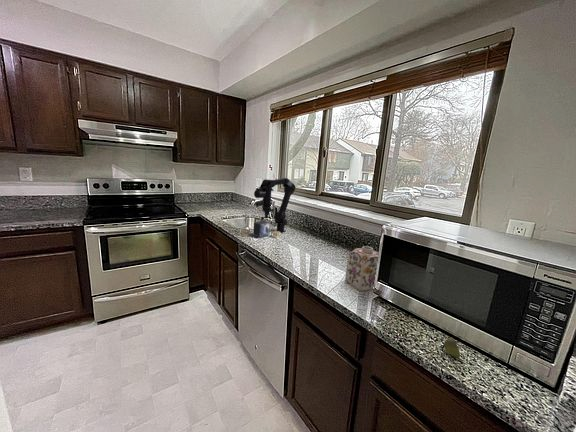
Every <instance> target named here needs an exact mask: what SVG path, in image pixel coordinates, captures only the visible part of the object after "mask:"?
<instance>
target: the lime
mask: <svg viewBox="0 0 576 432" xmlns="http://www.w3.org/2000/svg"><path fill="white" fill-rule="evenodd" d="M443 349H444V350H445V352H446V354H448V355H450V356H451V357H453V358H455V359H458V358H460V357H461V353H460V350H459V347H458V345H457V342H456V339H454V338H453V337H449V338H447V339H446V340H444V343H443Z"/></svg>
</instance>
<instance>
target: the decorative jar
mask: <svg viewBox="0 0 576 432" xmlns="http://www.w3.org/2000/svg"><path fill="white" fill-rule="evenodd" d="M378 253H379V251H376V250H374V248H373V247H371V246H367V245H366V246H364V245H363V246H362V247H359V248H358V247H357V248H355V249H353V250H352V251H350V252H349V253H348V256H347V257H348V258H347V262H346V263H347V264H346V269H345V270H346V271H345V278H344V280H345V281H346V282H347V283H349V284H350V285H351V286H352V287H353V288H355V289H356V290H357V291H359V292H361V291H362V292H363V291H364V292H365V291H371V290H372V289H373V287H374V281H375V275H376V269H377V261H378ZM373 290H374V289H373Z"/></svg>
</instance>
